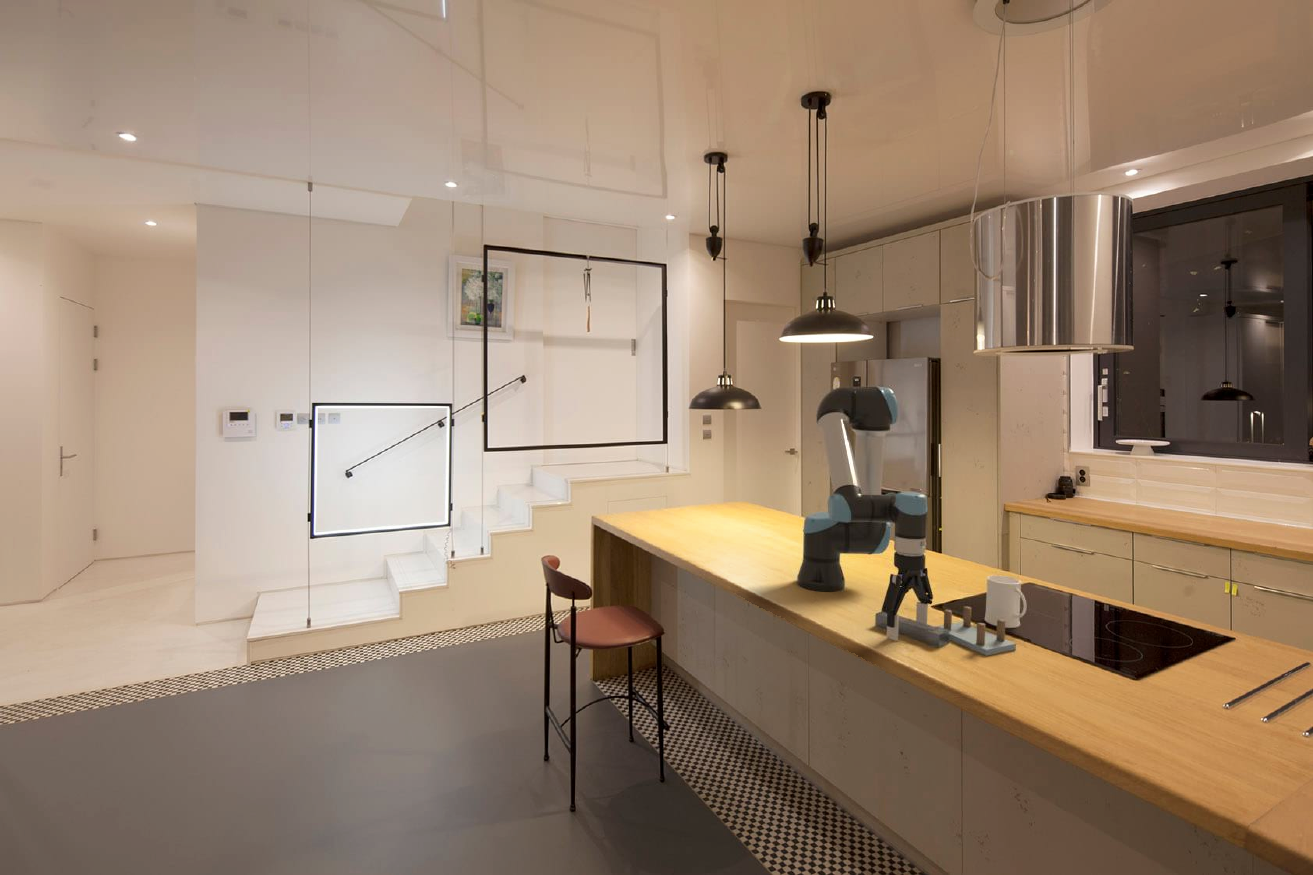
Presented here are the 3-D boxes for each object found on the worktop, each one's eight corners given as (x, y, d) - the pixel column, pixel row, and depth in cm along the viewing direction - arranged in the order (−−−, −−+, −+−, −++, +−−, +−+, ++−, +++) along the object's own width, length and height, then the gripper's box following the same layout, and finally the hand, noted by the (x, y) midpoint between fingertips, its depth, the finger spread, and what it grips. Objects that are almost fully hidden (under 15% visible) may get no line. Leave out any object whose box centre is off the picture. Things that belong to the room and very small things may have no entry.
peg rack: (933, 632, 164) (934, 608, 164) (961, 627, 168) (962, 603, 168) (986, 655, 150) (987, 629, 149) (1015, 649, 153) (1016, 623, 153)
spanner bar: (873, 627, 168) (873, 614, 168) (883, 622, 171) (884, 610, 171) (938, 648, 154) (939, 634, 154) (948, 643, 157) (949, 629, 157)
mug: (1036, 631, 165) (1038, 587, 164) (1007, 633, 164) (1009, 588, 163) (1005, 616, 177) (1006, 574, 176) (977, 617, 175) (979, 575, 175)
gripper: (895, 563, 151) (893, 648, 153) (948, 548, 167) (945, 626, 168) (868, 556, 157) (866, 639, 159) (922, 543, 173) (919, 618, 174)
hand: (907, 633), depth 163 cm, fingers open, 13 cm apart
